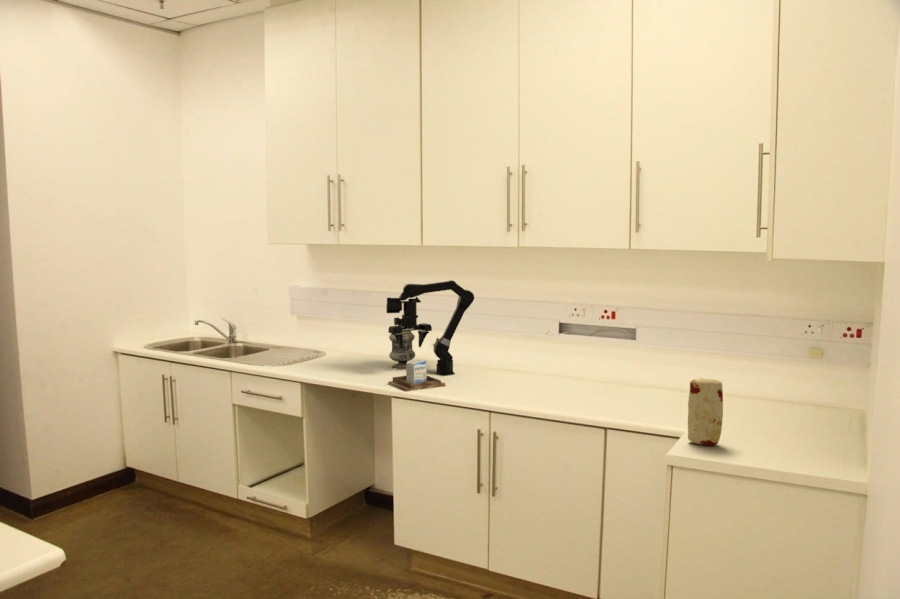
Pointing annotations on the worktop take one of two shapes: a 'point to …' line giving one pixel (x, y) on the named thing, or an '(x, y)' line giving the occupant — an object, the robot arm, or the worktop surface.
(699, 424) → the food model
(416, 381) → the medicine box
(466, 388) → the worktop surface
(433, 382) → the walnut tray
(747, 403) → the worktop surface
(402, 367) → the grey ornate vase
